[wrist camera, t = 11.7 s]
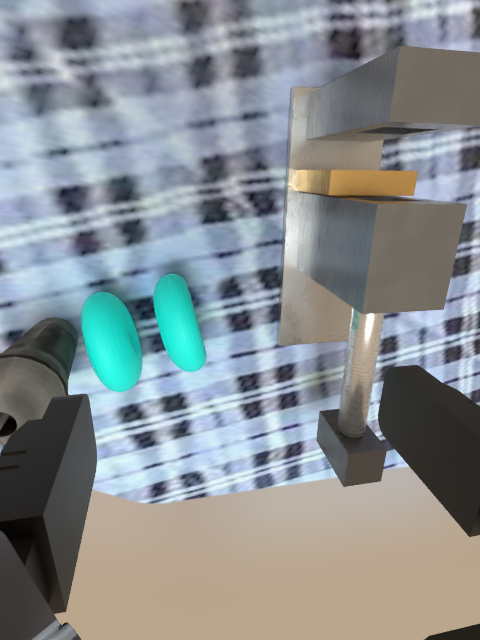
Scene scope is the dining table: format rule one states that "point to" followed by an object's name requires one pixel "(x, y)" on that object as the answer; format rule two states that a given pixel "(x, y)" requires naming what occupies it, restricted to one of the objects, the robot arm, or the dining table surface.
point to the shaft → (355, 409)
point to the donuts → (122, 339)
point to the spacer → (357, 182)
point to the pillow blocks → (370, 210)
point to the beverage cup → (35, 373)
